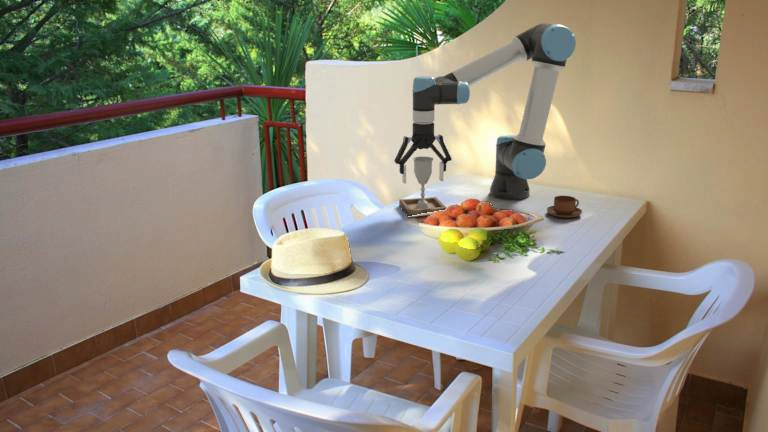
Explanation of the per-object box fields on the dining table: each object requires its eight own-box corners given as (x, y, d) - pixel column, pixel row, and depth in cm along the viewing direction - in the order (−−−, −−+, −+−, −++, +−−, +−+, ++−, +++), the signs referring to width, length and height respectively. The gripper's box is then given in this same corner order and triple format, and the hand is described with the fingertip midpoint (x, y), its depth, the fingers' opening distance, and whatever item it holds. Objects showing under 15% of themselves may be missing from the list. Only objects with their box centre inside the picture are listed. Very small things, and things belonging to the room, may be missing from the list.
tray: (435, 203, 257) (436, 197, 256) (446, 214, 244) (447, 207, 243) (399, 206, 254) (399, 199, 253) (408, 217, 241) (408, 210, 240)
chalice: (433, 204, 251) (433, 156, 246) (432, 210, 245) (433, 161, 239) (413, 204, 252) (413, 156, 247) (412, 210, 246) (412, 160, 240)
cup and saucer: (558, 208, 251) (559, 191, 249) (588, 215, 242) (589, 198, 241) (539, 215, 243) (540, 198, 241) (569, 223, 234) (571, 205, 233)
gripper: (454, 118, 245) (453, 176, 251) (385, 121, 240) (386, 180, 247) (461, 122, 238) (459, 181, 244) (390, 125, 233) (390, 186, 240)
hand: (422, 181), depth 246 cm, fingers open, 13 cm apart
